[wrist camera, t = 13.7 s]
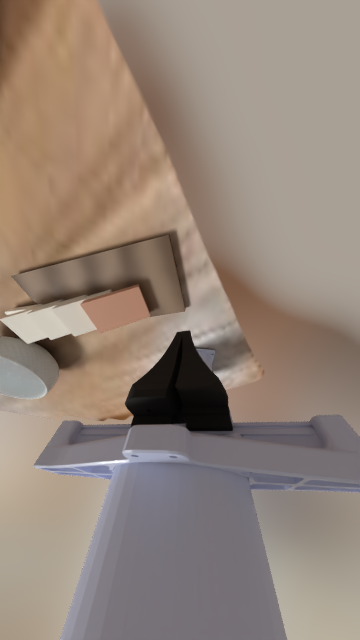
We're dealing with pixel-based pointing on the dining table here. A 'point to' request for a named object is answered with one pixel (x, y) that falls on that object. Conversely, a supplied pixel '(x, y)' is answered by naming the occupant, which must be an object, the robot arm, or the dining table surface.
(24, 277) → the board
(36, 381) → the cereal bowl
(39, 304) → the domino
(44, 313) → the domino
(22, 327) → the domino
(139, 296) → the terracotta domino
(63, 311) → the domino
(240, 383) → the dining table surface
